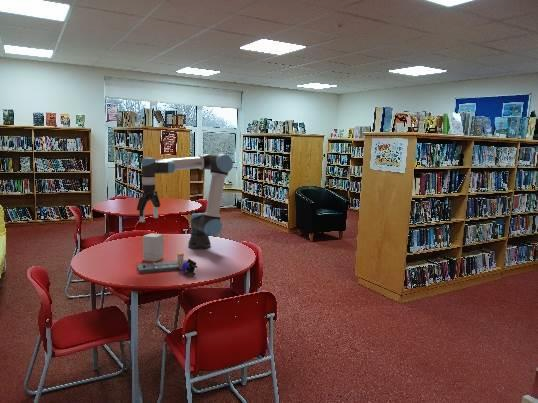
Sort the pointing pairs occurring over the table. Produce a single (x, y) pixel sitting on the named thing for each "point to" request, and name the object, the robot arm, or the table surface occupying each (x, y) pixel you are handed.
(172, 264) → the panel
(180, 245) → the table surface
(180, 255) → the block
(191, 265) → the character figurine
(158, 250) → the supplement box
